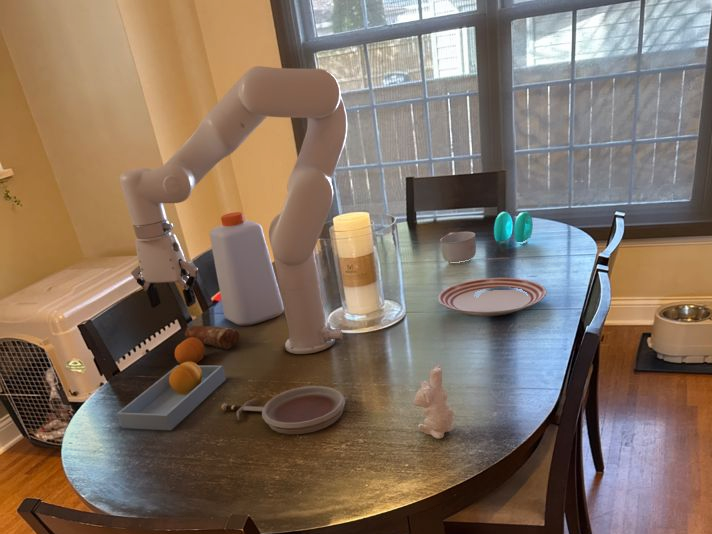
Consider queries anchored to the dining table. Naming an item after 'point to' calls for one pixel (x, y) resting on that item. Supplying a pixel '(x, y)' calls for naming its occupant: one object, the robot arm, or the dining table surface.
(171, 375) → the mango
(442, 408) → the pink rabbit figurine
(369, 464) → the dining table surface
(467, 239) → the teacup
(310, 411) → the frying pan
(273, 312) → the plastic bottle
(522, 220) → the teal twin oval discs
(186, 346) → the mango
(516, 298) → the dinner plate
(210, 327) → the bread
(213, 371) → the baking pan
